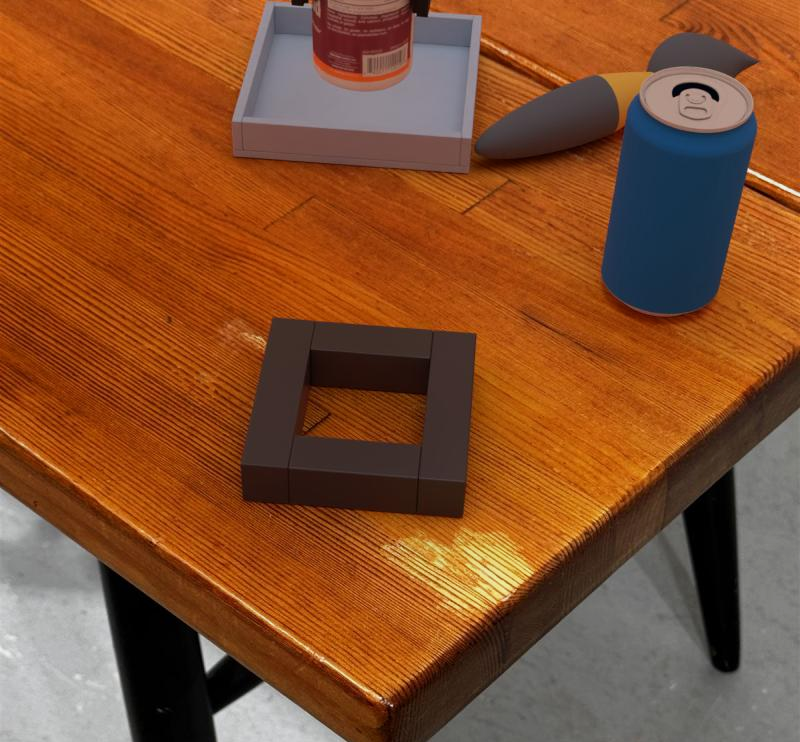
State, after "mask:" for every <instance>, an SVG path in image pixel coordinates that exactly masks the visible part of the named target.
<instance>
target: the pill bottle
mask: <svg viewBox="0 0 800 742" xmlns="http://www.w3.org/2000/svg"><path fill="white" fill-rule="evenodd" d="M311 4H312V35H313V36H312V39H313V65H314V68H315V70H316V72H317V74H318V75H319V76H320V77H321V78H322V79H323V80H325V81H327V82H328V83H330V84H332V85H334V86H337V87H340V88H343V89H347V90H352V91H360V92H371V91H379V90H384V89H387V88H390V87H392V86H394V85H396V84H398V83H400V82H401V81H402V80H404V78H405V77H406V76H407V75H408V74H409V72H410V70H411V68H412V59H413V44H414V20H415V13H412V4H413V0H311Z"/></svg>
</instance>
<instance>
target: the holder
mask: <svg viewBox="0 0 800 742" xmlns="http://www.w3.org/2000/svg"><path fill="white" fill-rule="evenodd" d="M477 336H478V335H477V333H475V332H463V331H451V330H439V329H435V330H433V329H426V328H414V327H400V326H386V325H376V324H375V325H374V324H362V323H349V322H336V321H323V320H312V319H299V318H287V317H275V316H273V317H272V318H271V322H270V327H269V332H268V336H267V340H266V345H265V348H264V349H265V350H264V354H263V359H262V363H261V368H260V373H259V377H258V382H257V386H256V391H255V394H254V400H253V404H252V409H251V413H250V417H249V422H248V427H247V432H246V435H245V439H244V445H243V450H242V453H241V454H242V455H241V458H240V463H239V466H240V467H239V468H240V479H241V480H240V481H241V492H242V500H243V501H248V502H257V503H258V502H259V503H272V504H283V505H289V504H290V505H298V506H299V505H301V506H311V507H313V506H314V507H325V508H336V509H337V508H338V509H347V510H362V511H373V512H385V513H396V514H397V513H399V514H409V515H410V514H411V515H416V514H417V515H423V516H424V515H425V516H435V517H449V518H460V519H462V518H463V517H464V512H465V504H466V503H465V501H466V490H467V478H468V465H469V451H470V435H471V422H472V421H471V420H472V407H473V396H474V395H473V394H474V393H473V392H474V382H475V381H474V379H475V365H476V351H477V349H476V348H477ZM311 386H316V387H317V386H319V387H329V388H330V387H332V388H341V389H342V388H343V389H355V390H369V391H382V392H395V393H406V394H407V393H408V394H420V395H426V399H425V407H424V408H425V409H424V419H423V428H422V429H423V430H422V431H423V432H422V439H421V444H415V443H400V442H389V441H377V440H365V439H363V440H362V439H350V438H341V437H340V438H339V437H326V436H325V437H324V436H314V435H303V430H304V426H305V425H304V424H305V420H306V413H307V408H308V403H309V397H310V392H311V391H310V390H311Z"/></svg>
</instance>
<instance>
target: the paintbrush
mask: <svg viewBox="0 0 800 742" xmlns="http://www.w3.org/2000/svg"><path fill="white" fill-rule="evenodd" d="M760 62H761V60H760V59H757V58H755V57H753V56H751V55H750V54H748V53H746V52H744V51H743V50H741V49H739V48H737V47H735V46H733V45H731V44H729V43H727V42H725V41H723V40H721V39H718V38H716V37H714V36H710V35H706V34H704V33H698V32H691V31H690V32H689V31H688V32H685V31H684V32H679V33H675V34H672V35H671V36H669V37H667V38H666V39H664V40H663V41H662V42H661V43H660V44H659V45H658V46H657V47H656V48H655V49H654V51H653V53H652V54H651V56H650V58H649V61H648V63H647V68H646V71H623V72H609V73H599V74H593V75H590V76H589V75H588V76H587V77H583V78H580V79H577V80H575V81H571V82H569V83H566V84H564V85H562V86H559V87H557V88H555V89H551V90H550V91H547V92H545V93H543V94H541V95H539V96H537V97H535V98H533V99H531V100H530V101H527V102H525V103H524V104H522V105H520V106H519V107H517V108H515V109H514V110H512V111H510V112H509V113H507V114H505V115H504V116H502V117H501V118H499V119H498V120H497V121H495V122H494V123H492V125H490V126H489V127H488V128H487V129H486V130H484V131H483V132H482V133H481V135H480V136H479V137H478V138H477V139H476V141H475V143H474V149H473V151H474V152H475V154H476V155H478V156H479V157H483V158H487V159H491V160H492V159H494V160H512V159H513V160H514V159H523V158H529V157H535V156H541V155H542V156H543V155H547V154H552V153H556V152H560V151H564V150H569V149H572V148H575V147H578V146H582V145H585V144H588V143H591V142H594V141H597V140H599V139H603V138H605V137H607V136H609V135H612V134H614V133H616V132H618V131H619V130H620V129H622V128H624V127H625V122H626V116H627V110H628V107H629V105H630V103H631V101H632V100H633V99H634V97H635V96H636V95H637V94H638V93H639V91H640V87H641V85H642V83H643V82H644V80H645V79H646V78H648V77H649V76H650V75H652V74H654V73H656V72H658V71H661V70H664V69H668V68H673V67H700V68H706V69H711V70H715V71H718V72H721V73H724V74H726V75H728V76H731V77H732V78H734V79H736V77H737V76H739V75H740V74H741V73H742V72H744V71H746V70H747V69H749V68H751V67H752V66H755V65H757V64H758V63H760Z"/></svg>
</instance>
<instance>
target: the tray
mask: <svg viewBox="0 0 800 742" xmlns="http://www.w3.org/2000/svg"><path fill="white" fill-rule="evenodd" d="M260 18H261V19H260V22H259V25H258V28H257V32H256V36H255V39H254V41H253V46H252V49H251V53H250V56H249V60H248V63H247V67H246V70H245V74H244V77H243V81H242V84H241V88H240V91H239V93H238V98H237V101H236V104H235V108H234V112H233V115H232V119H231V135H232V148H233V151H232V152H233V157H236V158H237V157H238V158H247V159H248V158H250V159H265V160H277V161H292V162H303V163H304V162H305V163H319V164H329V165H330V164H332V165H344V166H345V165H347V166H357V167H359V166H360V167H371V168H372V167H373V168H385V169H386V168H387V169H402V170H413V171H428V172H442V173H455V174H466V175H467V174H470V168H471V156H472V145H473V133H474V120H475V108H476V98H477V86H478V77H479V76H478V73H479V64H480V63H479V62H480V52H481V40H482V39H481V38H482V27H483V26H482V25H483V15H479V14H474V15H473V14H465V13H464V14H463V13H451V12H436V11H429V13H428V18H427V17H416V13H415V20H414V44H413V59H412V68H411V70H410V72H409V74H408V75H407V76H406V77H405V78H404V80H402V81H401V82H400V83H398V84H396V85H394V86H392V87H390V88H387V89H384V90H379V91H371V92H360V91H352V90H347V89H343V88H340V87H337V86H334V85H332V84H330V83H328V82H327V81H325V80H323V79H322V78H321V77H320V76H319V75H318V74H317V72H316V70H315V68H314V65H313V39H312V36H313V35H312V3H308V4H306V3H304V6H293V5H292V4H291V1H290V2H289V1H278V0H277V1H274V0H273V1H272V0H271V1H270V0H266V2H265V4H264V8H263V12H262V15H261V17H260Z"/></svg>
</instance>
